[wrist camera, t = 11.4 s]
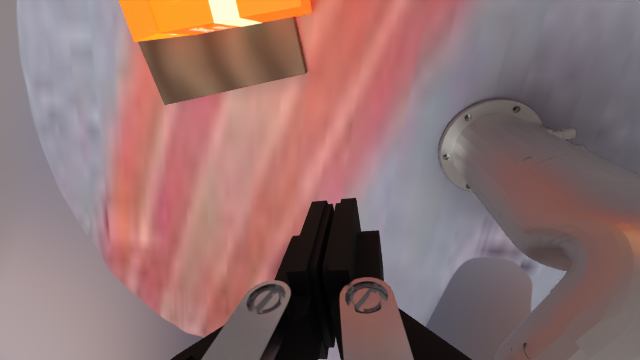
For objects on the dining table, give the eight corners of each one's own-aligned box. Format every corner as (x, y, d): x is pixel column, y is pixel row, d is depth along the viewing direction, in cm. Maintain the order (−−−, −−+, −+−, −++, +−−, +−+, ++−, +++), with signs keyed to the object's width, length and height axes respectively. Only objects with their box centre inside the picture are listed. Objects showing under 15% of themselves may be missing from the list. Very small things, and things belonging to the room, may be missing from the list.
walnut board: (272, -83, 32) (269, -89, 30) (307, 72, 38) (305, 73, 37) (116, -31, 36) (106, -33, 34) (170, 102, 42) (164, 104, 40)
